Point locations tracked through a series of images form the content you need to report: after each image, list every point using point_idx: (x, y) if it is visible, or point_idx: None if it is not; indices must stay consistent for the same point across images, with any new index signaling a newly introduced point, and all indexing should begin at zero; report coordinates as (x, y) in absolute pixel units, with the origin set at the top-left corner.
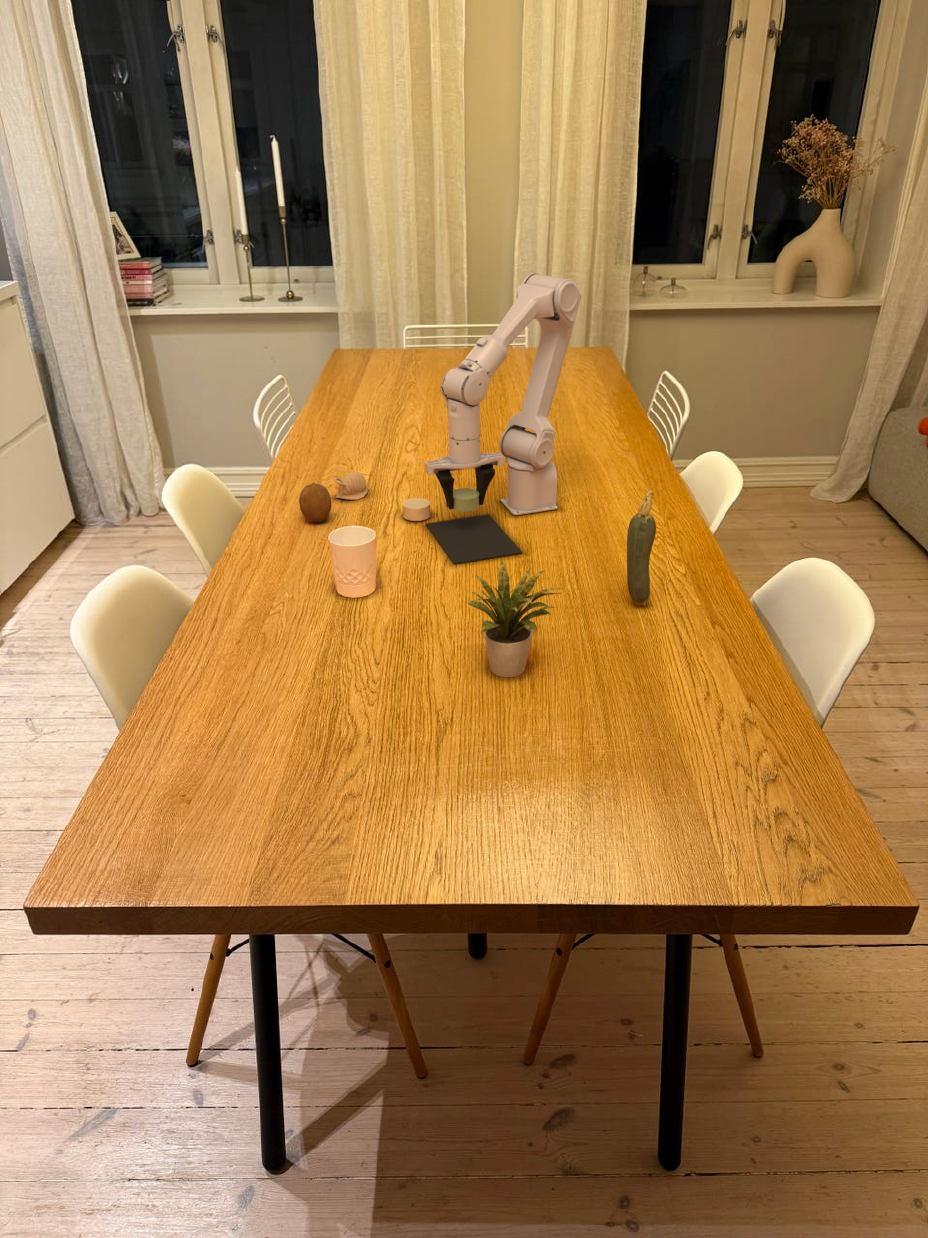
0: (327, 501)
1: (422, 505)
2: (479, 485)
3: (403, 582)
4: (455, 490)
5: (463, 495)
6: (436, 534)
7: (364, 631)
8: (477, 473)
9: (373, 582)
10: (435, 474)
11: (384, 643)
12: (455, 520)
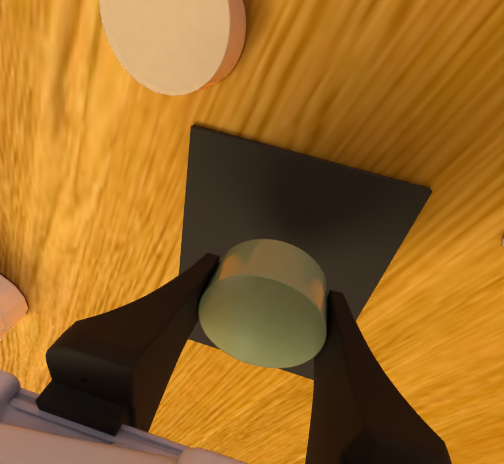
0: None
1: (180, 68)
2: (324, 379)
3: (74, 320)
4: (240, 282)
5: (243, 335)
6: (191, 214)
7: (15, 367)
8: (337, 418)
9: (10, 329)
10: (84, 320)
11: (37, 392)
12: (292, 166)
